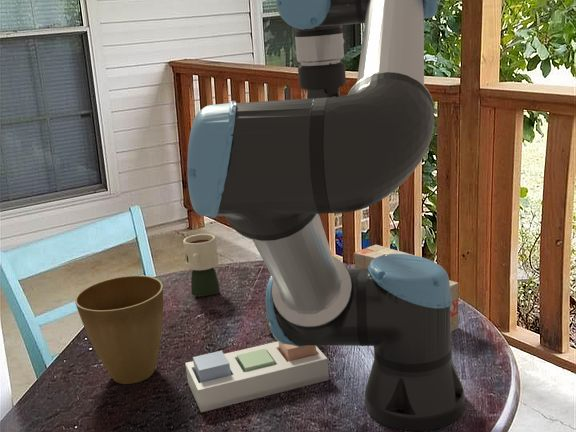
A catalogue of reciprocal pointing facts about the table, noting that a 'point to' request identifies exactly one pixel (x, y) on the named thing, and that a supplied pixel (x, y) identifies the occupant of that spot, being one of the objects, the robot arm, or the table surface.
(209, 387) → the key console
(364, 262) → the stack of blocks
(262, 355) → the sage key
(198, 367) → the blue key
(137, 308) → the plant pot
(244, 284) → the table surface
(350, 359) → the table surface
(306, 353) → the terracotta key
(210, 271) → the character mug
